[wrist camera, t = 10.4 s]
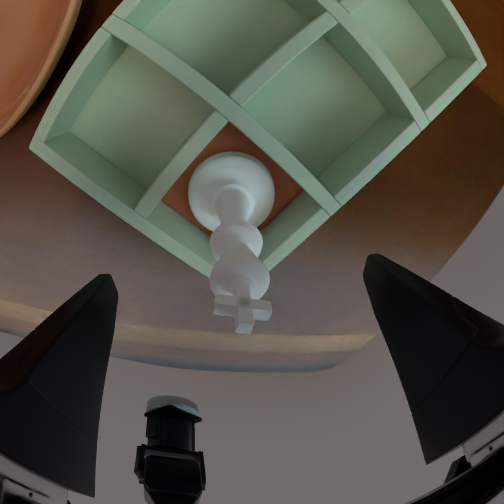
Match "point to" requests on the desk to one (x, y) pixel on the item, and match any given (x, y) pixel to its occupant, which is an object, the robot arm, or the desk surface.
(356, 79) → the compartment tray
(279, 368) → the desk surface
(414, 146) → the desk surface
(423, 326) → the robot arm
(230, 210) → the chess piece
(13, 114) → the saucer
